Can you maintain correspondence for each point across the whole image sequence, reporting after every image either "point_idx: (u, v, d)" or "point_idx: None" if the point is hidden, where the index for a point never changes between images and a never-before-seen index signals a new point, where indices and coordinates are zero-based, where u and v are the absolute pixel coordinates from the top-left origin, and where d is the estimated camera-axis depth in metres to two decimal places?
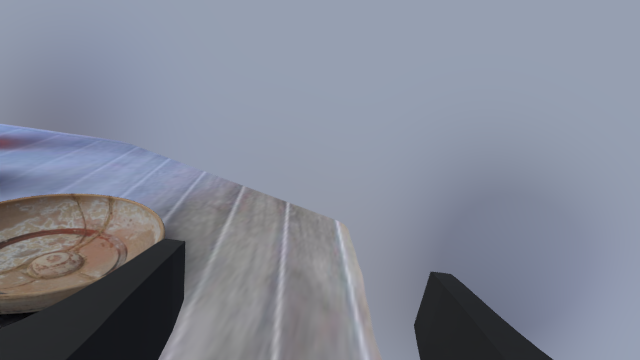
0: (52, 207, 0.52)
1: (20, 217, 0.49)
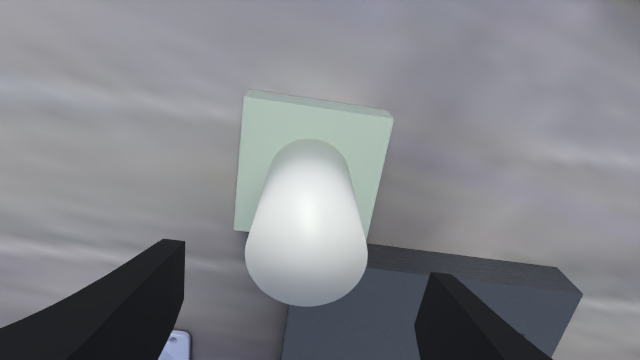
0: None
1: None
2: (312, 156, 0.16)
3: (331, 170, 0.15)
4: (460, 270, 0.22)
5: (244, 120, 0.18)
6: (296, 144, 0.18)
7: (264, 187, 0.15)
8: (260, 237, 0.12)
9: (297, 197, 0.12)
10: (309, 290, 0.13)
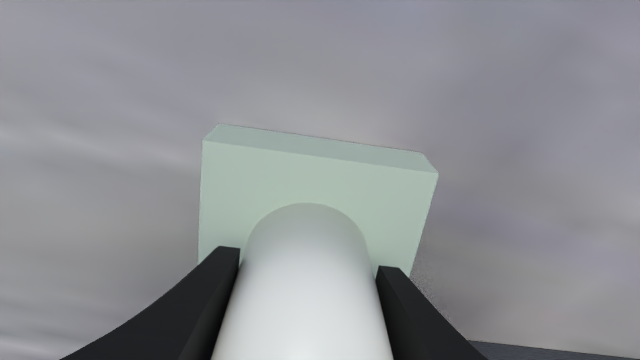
0: None
1: None
2: (311, 249, 0.09)
3: (344, 282, 0.09)
4: None
5: (205, 176, 0.11)
6: (286, 215, 0.11)
7: (228, 307, 0.09)
8: None
9: None
10: None
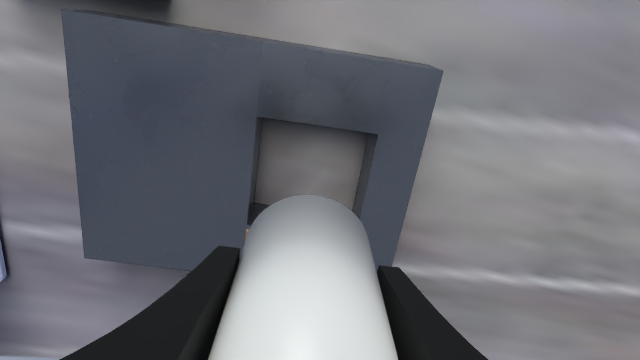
0: None
1: None
2: (305, 239, 0.09)
3: (339, 268, 0.08)
4: (289, 44, 0.17)
5: None
6: (281, 209, 0.11)
7: (226, 302, 0.09)
8: None
9: None
10: None
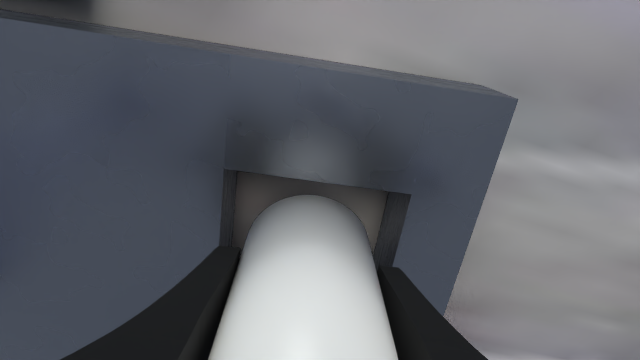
0: None
1: None
2: (305, 239, 0.09)
3: (339, 268, 0.08)
4: (274, 57, 0.11)
5: None
6: (281, 209, 0.11)
7: (226, 302, 0.09)
8: None
9: None
10: None
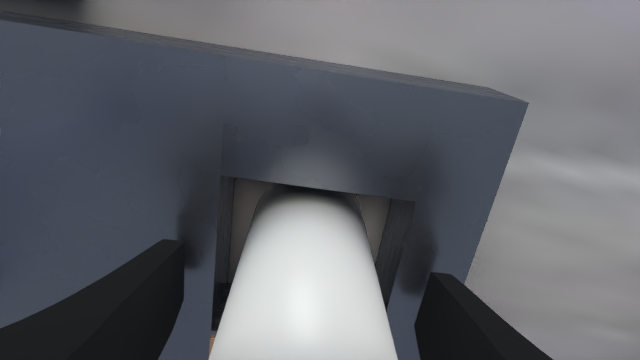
0: None
1: None
2: (307, 207, 0.11)
3: (335, 229, 0.10)
4: (273, 59, 0.10)
5: None
6: (285, 185, 0.13)
7: (240, 259, 0.11)
8: None
9: (279, 304, 0.07)
10: None
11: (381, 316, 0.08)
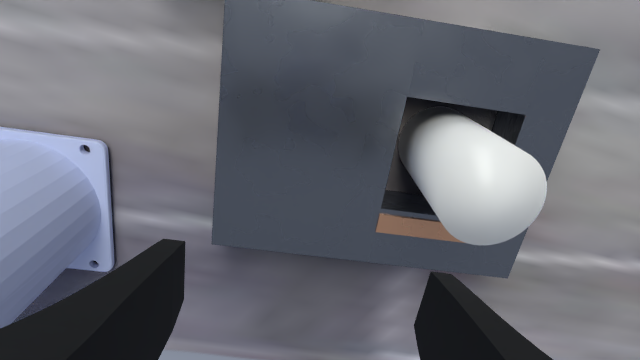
0: None
1: None
2: (458, 117, 0.17)
3: None
4: None
5: None
6: (429, 111, 0.19)
7: (420, 148, 0.17)
8: (452, 182, 0.14)
9: (484, 144, 0.14)
10: (491, 229, 0.15)
11: None
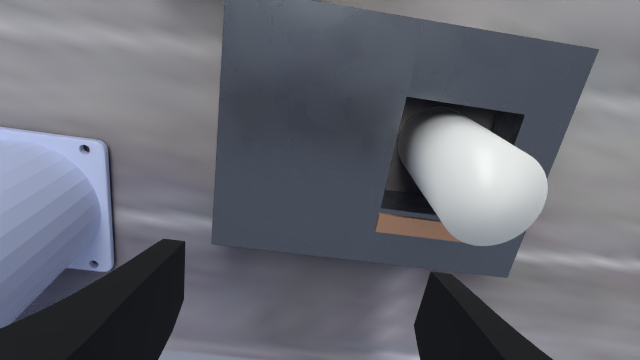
0: None
1: None
2: (458, 118, 0.17)
3: (483, 127, 0.17)
4: None
5: None
6: (429, 111, 0.19)
7: (420, 148, 0.17)
8: (454, 184, 0.14)
9: (486, 145, 0.14)
10: (491, 230, 0.15)
11: None
